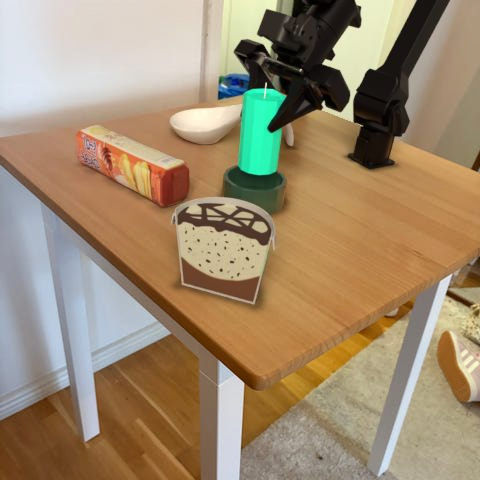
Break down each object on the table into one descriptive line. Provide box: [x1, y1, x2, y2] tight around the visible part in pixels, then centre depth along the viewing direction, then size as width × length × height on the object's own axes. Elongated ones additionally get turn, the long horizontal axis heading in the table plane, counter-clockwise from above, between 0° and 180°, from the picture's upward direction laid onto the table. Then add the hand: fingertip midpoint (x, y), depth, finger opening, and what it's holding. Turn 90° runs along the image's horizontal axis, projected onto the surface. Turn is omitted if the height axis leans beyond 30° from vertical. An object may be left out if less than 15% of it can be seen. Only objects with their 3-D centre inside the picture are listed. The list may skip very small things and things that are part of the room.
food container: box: [170, 196, 278, 306], centre depth 63 cm, size 12×6×10 cm, turn 71°
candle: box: [237, 83, 287, 175], centre depth 76 cm, size 6×6×12 cm
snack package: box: [75, 124, 191, 208], centre depth 83 cm, size 21×7×7 cm, turn 48°
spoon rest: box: [169, 102, 295, 147], centre depth 100 cm, size 24×12×7 cm, turn 95°
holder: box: [221, 164, 288, 215], centre depth 82 cm, size 10×10×4 cm
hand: (255, 124), depth 75 cm, fingers closed on candle, 5 cm apart
